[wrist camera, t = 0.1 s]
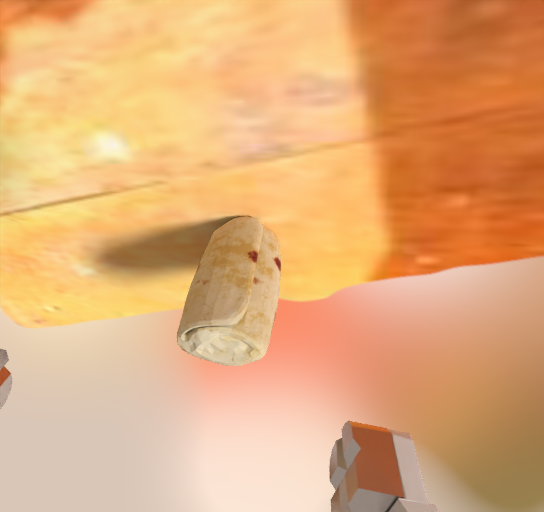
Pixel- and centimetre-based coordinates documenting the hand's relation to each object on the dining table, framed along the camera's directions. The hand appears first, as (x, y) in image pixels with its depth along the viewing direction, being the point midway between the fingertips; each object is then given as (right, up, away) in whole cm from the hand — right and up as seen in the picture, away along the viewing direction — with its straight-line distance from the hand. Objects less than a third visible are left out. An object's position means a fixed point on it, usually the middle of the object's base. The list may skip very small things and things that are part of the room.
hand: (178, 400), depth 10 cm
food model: (-1, +7, +44) cm, 45 cm away
